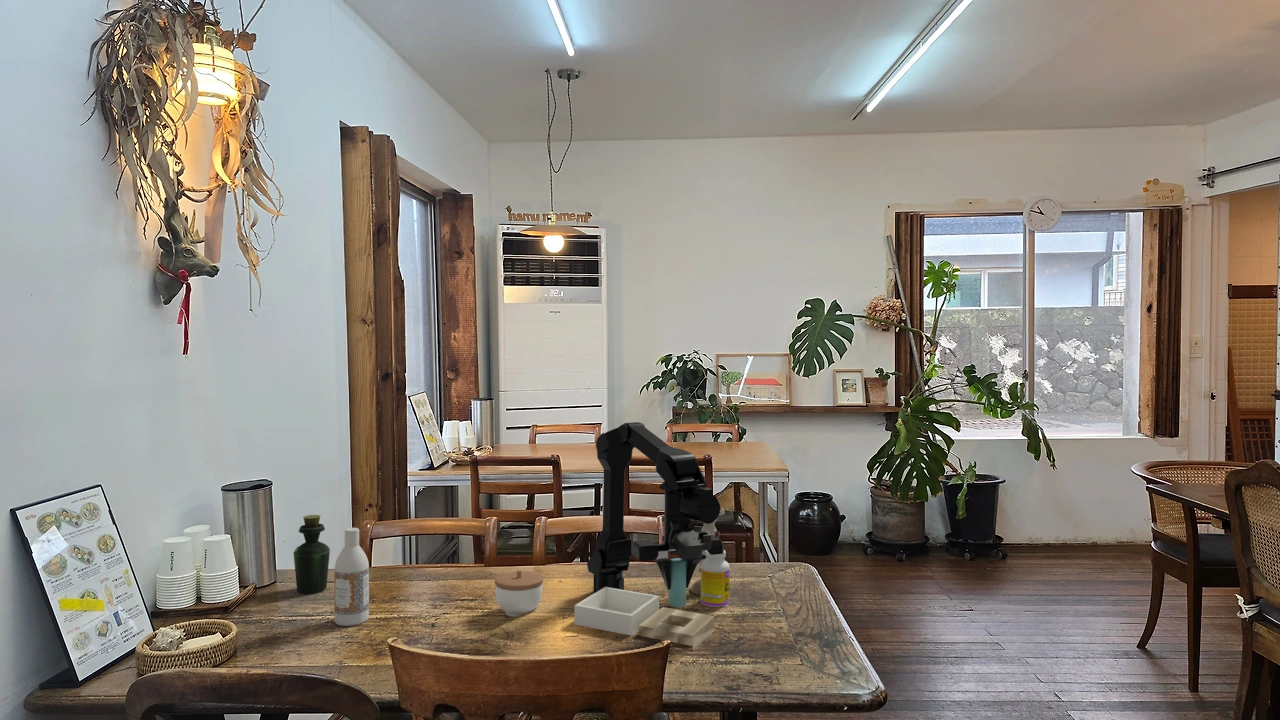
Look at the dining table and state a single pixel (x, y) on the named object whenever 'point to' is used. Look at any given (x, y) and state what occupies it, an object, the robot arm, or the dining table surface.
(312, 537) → the potion bottle
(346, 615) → the bath foam
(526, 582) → the lidded jar
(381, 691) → the dining table surface
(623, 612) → the open box
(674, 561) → the peg
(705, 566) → the supplement bottle
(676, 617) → the bore plate
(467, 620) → the dining table surface
